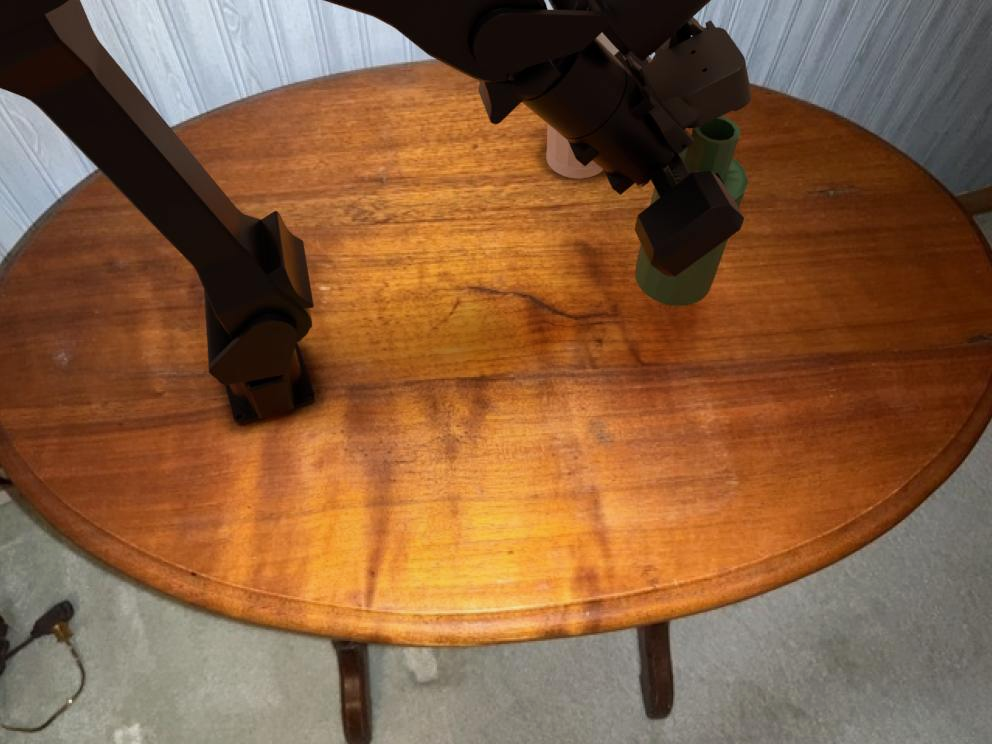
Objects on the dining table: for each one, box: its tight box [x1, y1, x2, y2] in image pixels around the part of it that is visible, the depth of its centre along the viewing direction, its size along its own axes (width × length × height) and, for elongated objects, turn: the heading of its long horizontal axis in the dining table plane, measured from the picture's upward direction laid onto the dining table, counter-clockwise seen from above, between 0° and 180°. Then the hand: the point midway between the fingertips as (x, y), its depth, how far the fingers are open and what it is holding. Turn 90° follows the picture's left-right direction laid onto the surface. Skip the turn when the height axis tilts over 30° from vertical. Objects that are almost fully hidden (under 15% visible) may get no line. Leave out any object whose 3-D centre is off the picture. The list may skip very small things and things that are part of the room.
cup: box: [545, 33, 619, 180], centre depth 80 cm, size 8×8×12 cm
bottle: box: [634, 115, 749, 307], centre depth 63 cm, size 6×6×15 cm
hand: (709, 207), depth 63 cm, fingers closed on bottle, 6 cm apart
